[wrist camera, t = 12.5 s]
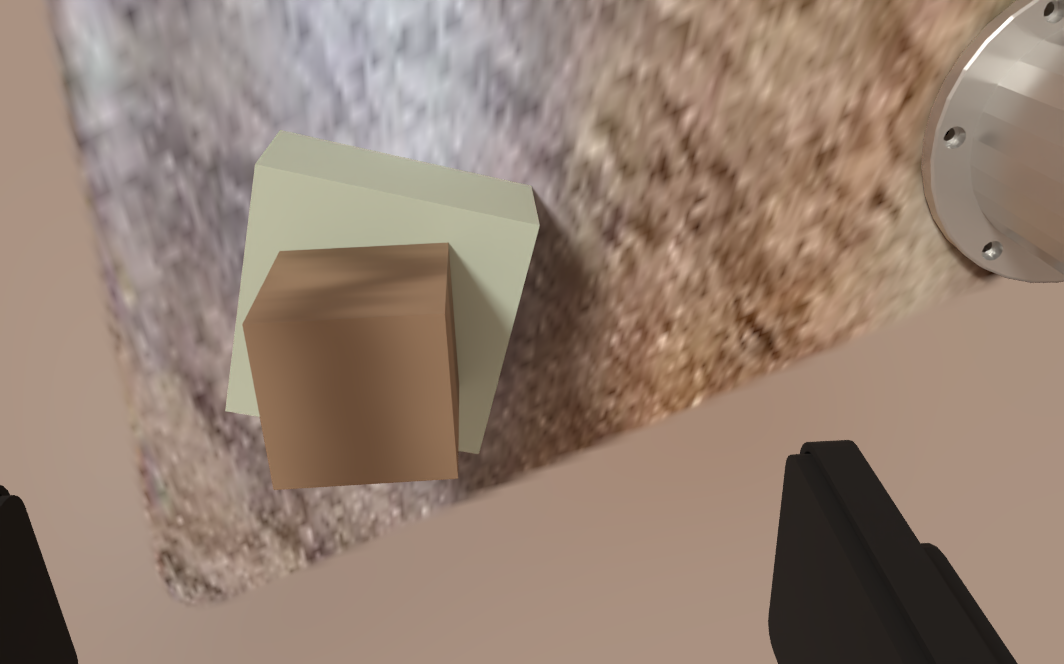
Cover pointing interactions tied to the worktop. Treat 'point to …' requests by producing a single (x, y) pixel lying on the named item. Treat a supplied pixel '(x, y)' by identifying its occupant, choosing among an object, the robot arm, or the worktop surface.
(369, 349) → the walnut block
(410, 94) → the worktop surface
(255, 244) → the sage block
